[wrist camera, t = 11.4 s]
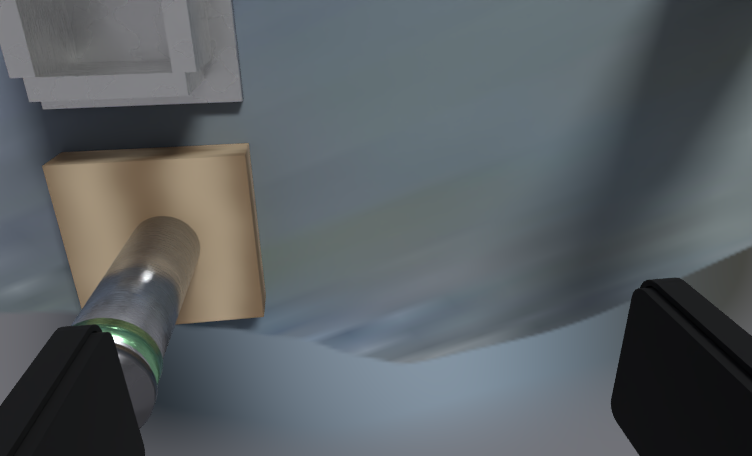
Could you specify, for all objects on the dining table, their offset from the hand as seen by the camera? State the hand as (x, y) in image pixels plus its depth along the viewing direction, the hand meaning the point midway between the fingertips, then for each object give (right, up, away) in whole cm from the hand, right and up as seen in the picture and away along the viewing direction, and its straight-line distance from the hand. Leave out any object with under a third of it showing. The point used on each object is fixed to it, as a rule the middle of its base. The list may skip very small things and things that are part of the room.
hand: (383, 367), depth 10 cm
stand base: (-15, +16, +23) cm, 31 cm away
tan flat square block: (-15, +2, +29) cm, 32 cm away
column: (-14, +1, +26) cm, 30 cm away
